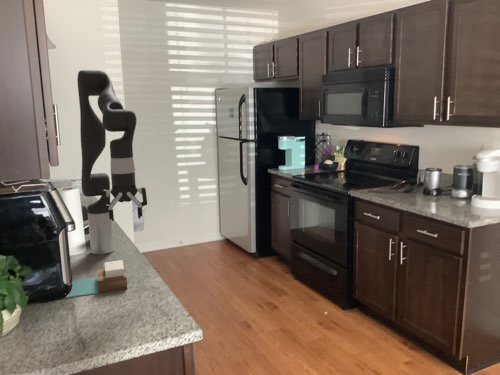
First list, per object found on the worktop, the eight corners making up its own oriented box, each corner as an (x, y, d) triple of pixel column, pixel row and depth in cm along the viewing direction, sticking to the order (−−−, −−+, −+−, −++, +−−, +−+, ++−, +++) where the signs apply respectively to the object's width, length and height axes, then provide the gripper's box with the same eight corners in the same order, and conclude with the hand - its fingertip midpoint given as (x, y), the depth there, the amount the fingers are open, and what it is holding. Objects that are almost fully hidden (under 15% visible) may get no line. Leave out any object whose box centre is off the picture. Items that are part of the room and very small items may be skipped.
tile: (105, 268, 151) (104, 262, 151) (122, 266, 153) (122, 260, 153) (105, 277, 143) (105, 271, 143) (124, 275, 145) (124, 268, 144)
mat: (67, 282, 150) (67, 281, 150) (98, 278, 153) (98, 277, 153) (65, 298, 137) (65, 297, 137) (98, 293, 140) (98, 292, 140)
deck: (98, 278, 153) (97, 268, 152) (124, 275, 156) (123, 264, 155) (98, 292, 141) (97, 281, 140) (127, 288, 144) (126, 277, 143)
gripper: (144, 168, 148) (146, 215, 151) (100, 171, 144) (103, 218, 146) (146, 171, 141) (148, 220, 144) (99, 174, 137) (103, 224, 139)
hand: (126, 219), depth 145 cm, fingers open, 8 cm apart
